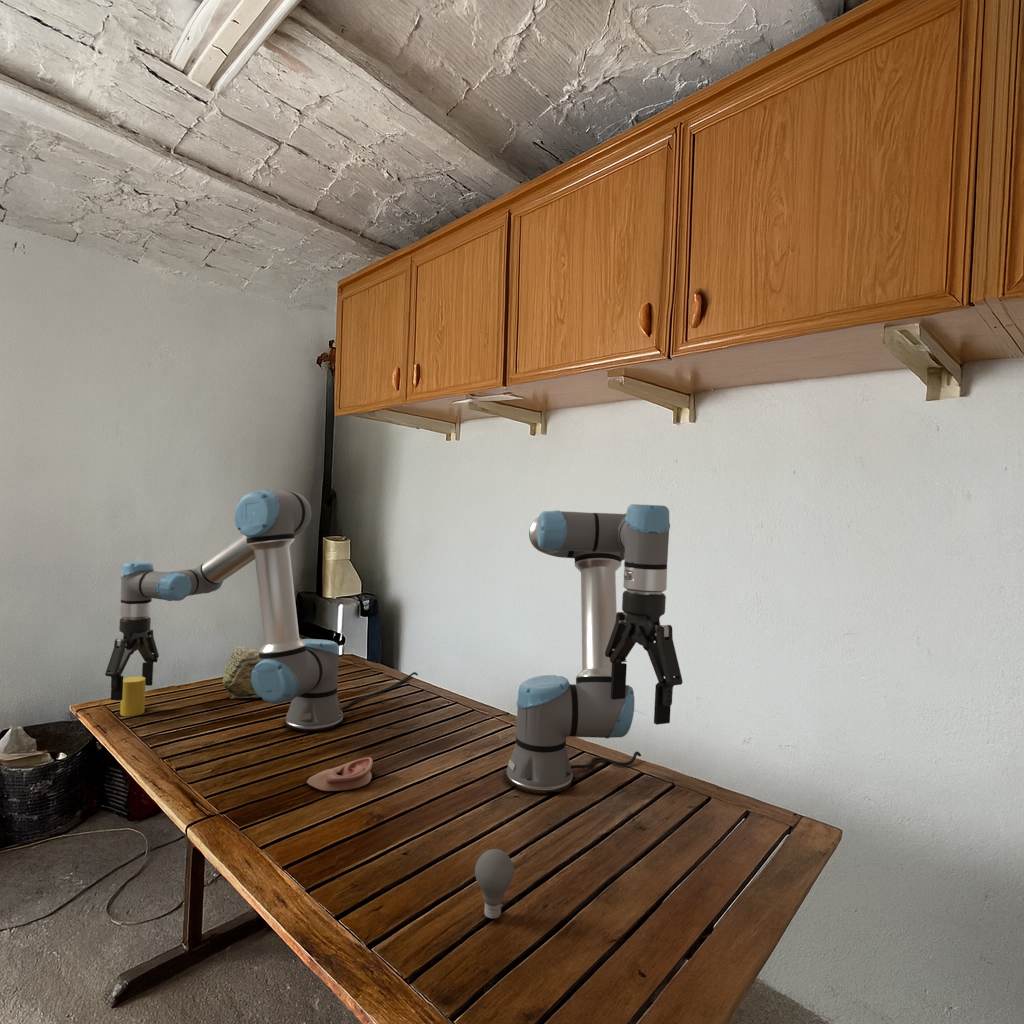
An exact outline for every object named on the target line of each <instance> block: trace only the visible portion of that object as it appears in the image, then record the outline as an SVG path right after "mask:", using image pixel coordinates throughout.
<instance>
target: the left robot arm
mask: <svg viewBox="0 0 1024 1024" xmlns="http://www.w3.org/2000/svg"><path fill="white" fill-rule="evenodd" d="M233 519H234V520H233V521H234V525H235V527H236V529H237V530H238V531H239V533H240V534H242V535H240V536H239V537H238V538H237V539H235V540H234V541H232V542H231V543H229V544H228V545H227V546H225V547H223V548H222V549H221V550H219V551H218V552H216V553H215V554H214V555H212V556H211V557H210V558H208V559H207V560H205V561H204V562H203V563H201V564H200V565H198V566H197V567H195V568H190V569H188V568H187V569H182V570H174V571H173V570H172V571H157V570H154V564H153V563H152V562H150V561H128V562H127V561H126V562H125V563H123V564H122V569H121V576H120V605H119V606H120V609H119V610H120V612H119V616H120V617H121V618H120V619H119V624H118V625H119V628H118V631H119V632H121V633H122V634H123V636H122V638H115V639H114V645H113V649H112V652H111V654H110V658H109V661H108V664H107V667H106V670H105V673H104V676H105V677H110V701H119V702H121V700H122V697H123V679H124V675H123V673H124V670H125V668H126V667H127V664H128V662H129V659H130V657H131V656H132V655H134V653H135V652H136V651H138V653H139V654H140V656H141V658H142V659H143V662H142V667H141V670H142V671H141V672H142V673H141V677H145V686H148V687H151V686H153V677H154V663H157V662H158V660H159V659H158V658H159V657H160V655H159V651H158V648H157V645H156V641H155V637H154V630H153V629H151V623H152V619H151V615H152V601H153V599H156V600H164V601H167V602H173V601H174V602H180V601H183V600H184V599H186V598H187V597H189V596H195V595H201V594H202V595H203V594H210V593H212V592H216V591H218V590H219V589H220V588H221V587H222V585H223V583H224V581H225V580H227V579H228V578H230V577H231V576H233V575H234V574H235V573H237V572H238V571H240V570H241V569H243V568H244V567H245V566H247V565H248V564H250V563H251V562H253V561H254V562H255V571H256V579H257V589H258V599H259V609H260V617H261V628H262V636H263V637H262V638H263V645H262V646H261V647H260V648H261V649H260V650H259V661H260V662H259V663H258V664H257V665H256V666H255V669H254V670H253V671H252V676H251V680H252V685H253V688H254V690H255V692H256V693H257V695H258V696H259V697H258V698H261V699H262V700H263V701H264V702H266V703H268V704H273V705H280V704H283V703H286V702H290V701H291V702H290V704H289V708H288V711H287V713H286V715H285V726H286V728H287V729H289V730H291V731H294V732H295V731H296V732H301V733H316V732H325V731H329V730H332V729H335V728H337V727H339V726H340V725H342V723H343V722H344V714H343V710H344V709H347V708H349V707H350V706H351V705H353V704H354V703H356V702H359V701H362V700H364V699H367V698H370V697H373V696H375V695H379V694H381V693H384V692H386V691H389V690H391V689H393V688H396V686H398V685H401V684H402V683H403V682H405V681H406V680H408V679H409V678H411V677H413V676H414V675H415V676H419V674H418V672H416V671H414V672H411V673H410V674H409V675H407V676H405V677H404V678H403V679H401V680H400V681H398V682H396V683H394V684H392V685H390V686H388V687H385V688H383V689H381V690H378V691H374V692H372V693H370V694H366V695H363V696H361V697H358V698H356V699H353V700H351V701H350V702H348V703H346V704H345V705H343V706H341V702H340V699H339V695H338V682H339V681H338V680H339V662H340V661H339V660H340V652H339V651H340V650H339V648H340V646H339V644H338V643H337V641H336V642H335V641H334V640H328V639H317V638H303V639H302V638H301V637H300V633H299V623H298V614H297V606H296V595H295V589H294V588H295V587H294V579H293V578H294V577H293V567H292V558H291V551H290V546H292V544H293V543H294V541H295V540H296V539H295V537H296V536H298V535H299V534H301V533H302V532H303V531H304V530H306V528H307V527H308V526H309V524H310V522H311V519H312V507H311V505H310V503H309V501H308V500H307V499H306V497H305V496H303V495H302V494H300V493H298V492H295V491H290V490H289V491H287V490H285V491H284V490H272V489H271V490H270V489H261V490H253V491H250V492H247V493H246V494H244V495H243V496H242V497H241V499H240V500H239V501H238V503H237V504H236V507H235V509H234V515H233Z"/></svg>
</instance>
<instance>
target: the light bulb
mask: <svg viewBox="0 0 1024 1024" xmlns="http://www.w3.org/2000/svg"><path fill="white" fill-rule="evenodd" d="M514 874H515V867H514V863H513V861H512V859H511V857H510V856H509V855H508V854H507V853H506V852H505V851H503V850H501V849H498V848H491V849H487V850H486V851H484V852H483V853H482V854H481V855H480V856H479V857H478V859H477V861H476V863H475V867H474V876H475V880H476V882H477V884H478V886H479V888H480V890H481V893H482V899H483V901H484V910H483V911H484V912H483V914H484V916H485V917H487V918H489V919H498V918H499V917H501V914H502V903H503V901H504V898H505V893H506V891H507V890H508V888H509V887H510V885H511V883H512V882H513V879H514V876H515V875H514Z"/></svg>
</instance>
